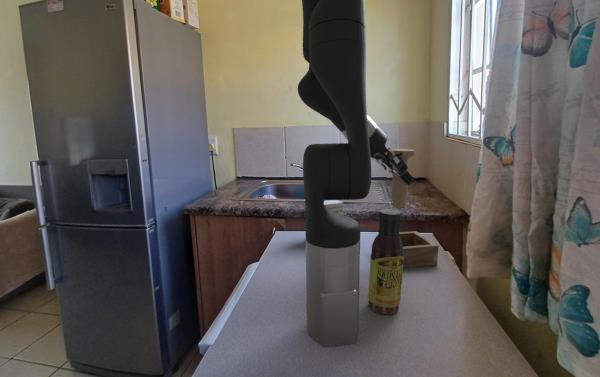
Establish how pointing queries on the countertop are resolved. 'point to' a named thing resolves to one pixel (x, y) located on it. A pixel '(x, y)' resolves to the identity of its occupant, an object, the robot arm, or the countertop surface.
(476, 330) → the countertop surface
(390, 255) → the sauce bottle
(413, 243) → the open wooden box
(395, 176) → the handle
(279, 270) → the countertop surface
